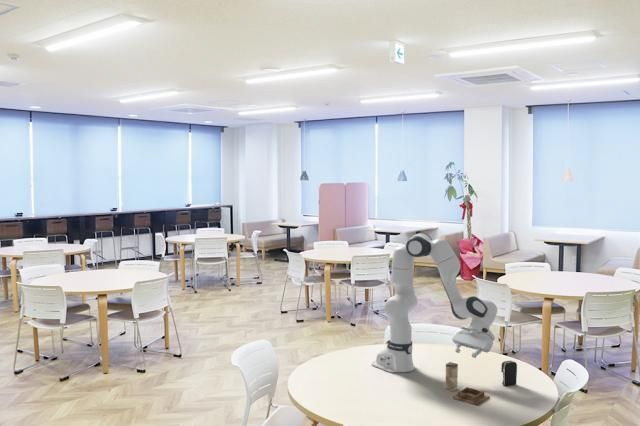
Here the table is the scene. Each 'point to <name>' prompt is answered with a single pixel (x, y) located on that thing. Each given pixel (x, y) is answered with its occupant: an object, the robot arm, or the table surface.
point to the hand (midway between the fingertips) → (465, 354)
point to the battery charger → (509, 373)
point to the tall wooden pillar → (451, 376)
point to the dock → (471, 396)
